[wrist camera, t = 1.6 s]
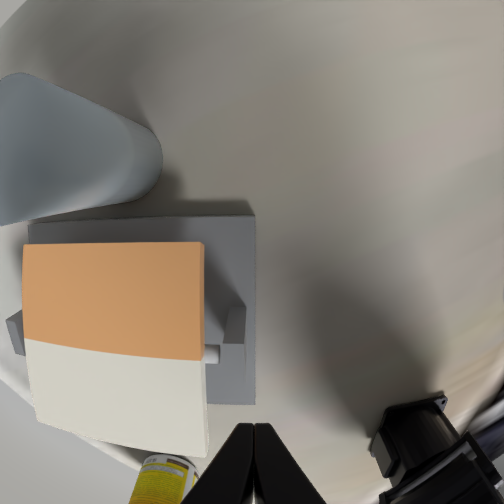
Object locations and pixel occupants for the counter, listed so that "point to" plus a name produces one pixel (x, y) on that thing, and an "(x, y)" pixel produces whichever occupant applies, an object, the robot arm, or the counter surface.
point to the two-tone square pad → (119, 342)
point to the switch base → (215, 285)
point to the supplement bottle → (164, 480)
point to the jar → (67, 152)
